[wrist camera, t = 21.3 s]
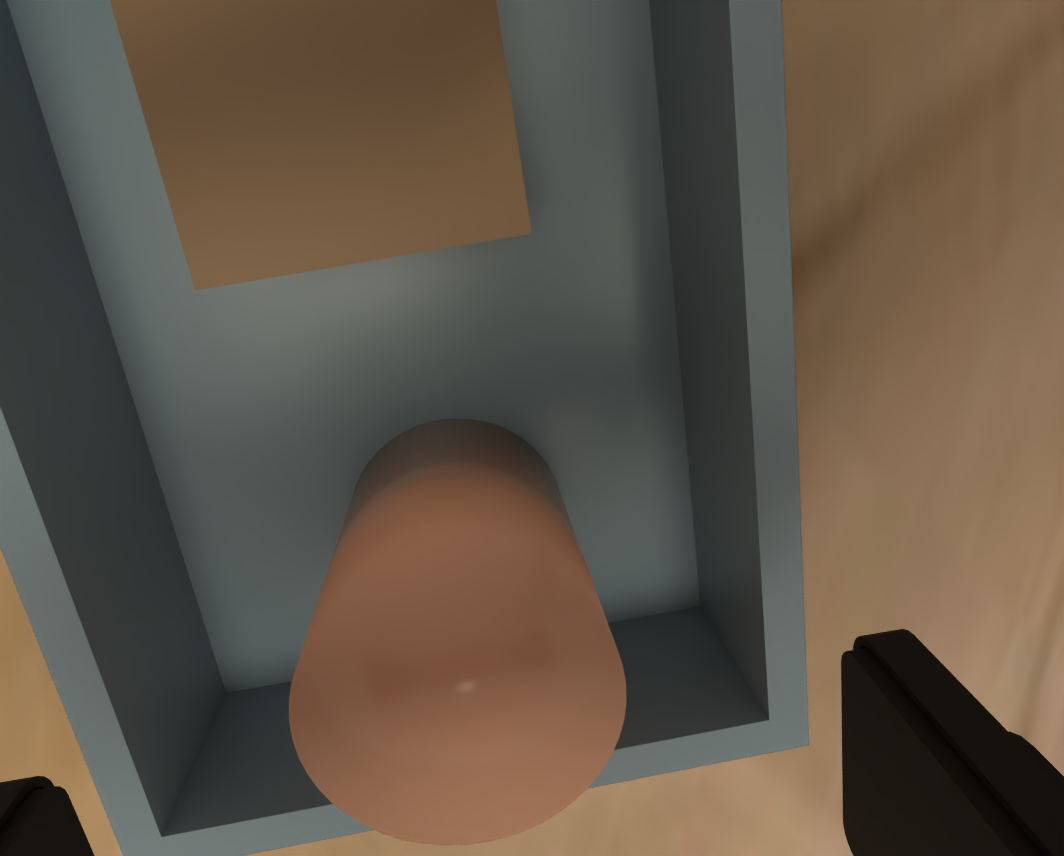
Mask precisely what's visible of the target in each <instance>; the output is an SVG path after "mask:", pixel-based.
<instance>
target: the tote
mask: <svg viewBox="0 0 1064 856" xmlns="http://www.w3.org/2000/svg"><path fill="white" fill-rule="evenodd" d="M496 4H497V10H498V17H499V23H500V30H501V36H502V43H503V49H504V56H505V62H506V69H507V75H508V82H509V88H510V95H511V101H512V108H513V114H514V121H515V127H516V134H517V140H518V147H519V153H520V160H521V166H522V173H523V179H524V186H525V192H526V199H527V205H528V212H529V218H530V225H531V231H532V234H526V235H520V236H514V237H508V238H503V239H497V240H491V241H485V242H479V243H473V244H467V245H461V246H456V247H450V248H444V249H438V250H432V251H426V252H420V253H414V254H409V255H403V256H397V257H391V258H385V259H379V260H373V261H367V262H362V263H356V264H350V265H344V266H338V267H332V268H326V269H320V270H315V271H309V272H303V273H297V274H291V275H285V276H279V277H273V278H268V279H262V280H256V281H250V282H244V283H238V284H232V285H226V286H221V287H215V288H209V289H203V290H197V291H195V289H194V285H193V282H192V278H191V275H190V272H189V268H188V265H187V261H186V258H185V255H184V251H183V248H182V244H181V241H180V238H179V234H178V231H177V227H176V224H175V221H174V217H173V214H172V210H171V207H170V204H169V200H168V197H167V193H166V190H165V187H164V183H163V180H162V176H161V173H160V170H159V166H158V163H157V159H156V156H155V153H154V149H153V146H152V142H151V139H150V136H149V132H148V129H147V125H146V122H145V119H144V115H143V112H142V108H141V105H140V102H139V98H138V95H137V91H136V88H135V85H134V81H133V78H132V74H131V71H130V68H129V64H128V61H127V57H126V54H125V51H124V47H123V44H122V40H121V37H120V34H119V30H118V27H117V23H116V20H115V17H114V13H113V10H112V6H111V3H110V0H0V548H1V550H2V553H3V555H4V558H5V560H6V563H7V565H8V568H9V570H10V573H11V576H12V578H13V581H14V583H15V586H16V588H17V591H18V593H19V596H20V598H21V601H22V603H23V606H24V608H25V611H26V613H27V616H28V618H29V621H30V623H31V626H32V628H33V631H34V633H35V636H36V638H37V641H38V643H39V646H40V648H41V651H42V653H43V656H44V658H45V661H46V663H47V666H48V668H49V671H50V674H51V676H52V679H53V681H54V684H55V686H56V689H57V691H58V694H59V696H60V699H61V701H62V704H63V706H64V709H65V711H66V714H67V716H68V719H69V721H70V724H71V726H72V729H73V731H74V734H75V736H76V739H77V741H78V744H79V746H80V749H81V751H82V754H83V756H84V759H85V761H86V764H87V766H88V769H89V772H90V774H91V777H92V779H93V782H94V784H95V787H96V789H97V792H98V794H99V797H100V799H101V802H102V804H103V807H104V809H105V812H106V814H107V817H108V819H109V822H110V824H111V827H112V829H113V832H114V834H115V837H116V839H117V842H118V844H119V847H120V849H121V852H122V854H123V856H244V855H249V854H254V853H259V852H264V851H269V850H274V849H279V848H285V847H290V846H295V845H300V844H305V843H310V842H315V841H321V840H326V839H331V838H336V837H341V836H346V835H351V834H356V833H362V832H367V831H372V830H374V829H371V828H369V827H367V826H365V825H363V824H361V823H359V822H358V821H356V820H354V819H353V818H351V817H349V816H348V815H346V814H345V813H344V812H343V811H341V810H340V809H339V808H337V807H336V806H335V805H334V804H332V803H331V802H330V801H329V800H328V799H327V798H326V797H325V796H324V794H323V793H322V792H321V791H320V790H319V789H318V788H317V787H316V785H315V784H314V782H313V781H312V780H311V778H310V777H309V776H308V774H307V772H306V771H305V769H304V767H303V765H302V763H301V761H300V759H299V757H298V754H297V751H296V749H295V746H294V743H293V740H292V735H291V729H290V723H289V697H290V690H291V683H292V679H293V676H294V673H295V669H296V666H297V663H298V660H299V657H300V654H301V651H302V648H303V645H304V642H305V639H306V636H307V633H308V630H309V626H310V623H311V620H312V617H313V614H314V611H315V608H316V605H317V602H318V599H319V596H320V593H321V590H322V587H323V584H324V581H325V578H326V575H327V572H328V569H329V566H330V563H331V560H332V556H333V553H334V550H335V547H336V544H337V541H338V538H339V535H340V532H341V529H342V526H343V523H344V520H345V517H346V514H347V511H348V508H349V505H350V502H351V499H352V496H353V493H354V490H355V487H356V484H357V482H358V480H359V477H360V475H361V473H362V471H363V470H364V468H365V467H366V465H367V464H368V462H369V461H370V460H371V458H372V457H373V456H374V455H375V454H376V453H377V452H378V450H380V449H381V448H382V447H383V446H384V445H385V444H386V443H388V442H389V441H390V440H392V439H393V438H395V437H396V436H398V435H399V434H401V433H403V432H405V431H407V430H409V429H411V428H413V427H415V426H418V425H421V424H424V423H427V422H432V421H437V420H441V419H454V418H460V419H473V420H479V421H485V422H488V423H491V424H495V425H498V426H500V427H502V428H505V429H507V430H509V431H511V432H513V433H514V434H516V435H518V436H519V437H521V438H522V439H524V440H525V441H526V442H527V443H528V444H530V445H531V446H532V447H533V448H534V449H535V450H536V451H537V452H538V453H539V454H540V455H541V456H542V458H543V459H544V460H545V462H546V463H547V465H548V466H549V468H550V470H551V472H552V473H553V475H554V477H555V479H556V482H557V485H558V488H559V490H560V493H561V496H562V499H563V501H564V504H565V507H566V510H567V512H568V515H569V518H570V521H571V523H572V526H573V529H574V532H575V534H576V537H577V540H578V543H579V545H580V548H581V551H582V553H583V556H584V559H585V562H586V564H587V567H588V570H589V573H590V575H591V578H592V581H593V584H594V586H595V589H596V592H597V595H598V597H599V600H600V603H601V606H602V608H603V611H604V614H605V617H606V619H607V622H608V625H609V628H610V630H611V633H612V636H613V639H614V641H615V644H616V647H617V650H618V653H619V656H620V659H621V661H622V664H623V669H624V675H625V680H626V710H625V717H624V723H623V726H622V730H621V733H620V737H619V739H618V742H617V744H616V746H615V748H614V751H613V753H612V755H611V757H610V758H609V760H608V762H607V763H606V765H605V767H604V768H603V770H602V771H601V773H600V774H599V775H598V776H597V778H596V779H595V780H594V781H593V783H592V784H591V785H590V786H589V787H588V788H593V787H598V786H603V785H608V784H613V783H618V782H623V781H628V780H634V779H639V778H644V777H649V776H654V775H659V774H664V773H670V772H675V771H680V770H685V769H690V768H695V767H700V766H705V765H711V764H716V763H721V762H726V761H731V760H736V759H741V758H747V757H752V756H757V755H762V754H767V753H772V752H777V751H782V750H788V749H793V748H798V747H803V746H808V745H809V724H808V697H807V670H806V643H805V616H804V590H803V563H802V536H801V509H800V482H799V455H798V428H797V401H796V374H795V347H794V321H793V294H792V267H791V240H790V213H789V186H788V159H787V132H786V105H785V78H784V52H783V25H782V0H496Z"/></svg>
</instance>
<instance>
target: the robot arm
mask: <svg viewBox="0 0 1064 856" xmlns="http://www.w3.org/2000/svg"><path fill="white" fill-rule="evenodd" d="M841 685H842V771H843V824H844V830H845V835H846V838H847V841H848V844H849V847H850V849H851V852H852V854H853V856H1064V776H1063V775H1062V774H1061V773H1060V772H1059V771H1058V770H1057V769H1056V768H1055V767H1054V766H1053V765H1052V764H1051V763H1050V762H1049V761H1048V760H1047V759H1046V758H1045V757H1044V756H1043V755H1042V754H1041V753H1040V752H1039V751H1038V750H1037V749H1036V748H1035V747H1034V746H1033V745H1031V744H1030V743H1029V742H1028V741H1026V740H1025V739H1024V738H1023V737H1022V736H1020V735H1017V734H1014V733H1012V732H1008V731H1007V730H1006V729H1005V728H1004V727H1003V726H1002V725H1001V724H1000V723H999V722H998V721H997V720H996V719H995V718H994V717H993V716H992V715H991V714H990V713H989V712H988V711H987V710H986V709H985V707H984V706H983V705H982V704H981V703H980V702H979V701H978V700H977V699H976V698H975V697H974V696H973V695H972V694H971V693H970V692H969V691H968V690H967V689H966V688H965V687H964V686H963V685H962V684H961V683H960V682H959V681H958V680H957V679H956V678H955V677H954V676H953V675H952V674H951V673H950V671H949V670H948V669H947V668H946V667H945V666H944V665H943V664H942V663H941V662H940V661H939V660H938V659H937V658H936V657H935V656H934V655H933V654H932V653H931V652H930V651H929V650H928V649H927V648H926V647H925V646H924V645H923V644H922V643H921V642H920V641H919V640H918V639H917V638H916V637H915V635H913V634H912V633H911V632H910V631H908V630H905V629H899V630H894V631H888V632H882V633H876V634H870V635H864V636H859V637H858V638H856V640H855V642H854V646H853V650H851V651H846V652H844V653H843V655H842V660H841ZM0 856H94V854H93V851H92V849H91V847H90V844H89V842H88V840H87V837H86V835H85V833H84V830H83V828H82V826H81V823H80V821H79V819H78V816H77V814H76V812H75V809H74V807H73V805H72V802H71V800H70V798H69V796H68V794H67V792H66V791H65V789H63V788H62V787H58V786H54V785H53V783H52V782H51V780H49V779H48V778H46V777H44V776H36V777H30V778H24V779H18V780H12V781H6V782H1V783H0Z"/></svg>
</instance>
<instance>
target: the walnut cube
mask: <svg viewBox="0 0 1064 856" xmlns="http://www.w3.org/2000/svg"><path fill="white" fill-rule="evenodd" d="M110 3H111V6H112V10H113V13H114V17H115V20H116V23H117V27H118V30H119V34H120V37H121V40H122V44H123V47H124V51H125V54H126V57H127V61H128V64H129V68H130V71H131V74H132V78H133V81H134V85H135V88H136V91H137V95H138V98H139V102H140V105H141V108H142V112H143V115H144V119H145V122H146V125H147V129H148V132H149V136H150V139H151V142H152V146H153V149H154V153H155V156H156V159H157V163H158V166H159V170H160V173H161V176H162V180H163V183H164V187H165V190H166V193H167V197H168V200H169V204H170V207H171V210H172V214H173V217H174V221H175V224H176V227H177V231H178V234H179V238H180V241H181V244H182V248H183V251H184V255H185V258H186V261H187V265H188V268H189V272H190V275H191V278H192V282H193V285H194V289H195V291H197V290H203V289H209V288H215V287H221V286H226V285H232V284H238V283H244V282H250V281H256V280H262V279H268V278H273V277H279V276H285V275H291V274H297V273H303V272H309V271H315V270H320V269H326V268H332V267H338V266H344V265H350V264H356V263H362V262H367V261H373V260H379V259H385V258H391V257H397V256H403V255H409V254H414V253H420V252H426V251H432V250H438V249H444V248H450V247H456V246H461V245H467V244H473V243H479V242H485V241H491V240H497V239H503V238H508V237H514V236H520V235H526V234H532V231H531V225H530V218H529V212H528V205H527V199H526V192H525V186H524V179H523V173H522V166H521V160H520V153H519V147H518V140H517V134H516V127H515V121H514V114H513V108H512V101H511V95H510V88H509V82H508V75H507V69H506V62H505V56H504V49H503V43H502V36H501V30H500V23H499V17H498V10H497V4H496V0H110Z"/></svg>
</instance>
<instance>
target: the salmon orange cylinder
mask: <svg viewBox="0 0 1064 856" xmlns="http://www.w3.org/2000/svg"><path fill="white" fill-rule="evenodd" d="M625 710H626V680H625V675H624V669H623V664H622V661H621V659H620V656H619V653H618V650H617V647H616V644H615V641H614V639H613V636H612V633H611V630H610V628H609V625H608V622H607V619H606V617H605V614H604V611H603V608H602V606H601V603H600V600H599V597H598V595H597V592H596V589H595V586H594V584H593V581H592V578H591V575H590V573H589V570H588V567H587V564H586V562H585V559H584V556H583V553H582V551H581V548H580V545H579V543H578V540H577V537H576V534H575V532H574V529H573V526H572V523H571V521H570V518H569V515H568V512H567V510H566V507H565V504H564V501H563V499H562V496H561V493H560V490H559V488H558V485H557V482H556V479H555V477H554V475H553V473H552V472H551V470H550V468H549V466H548V465H547V463H546V462H545V460H544V459H543V458H542V456H541V455H540V454H539V453H538V452H537V451H536V450H535V449H534V448H533V447H532V446H531V445H530V444H528V443H527V442H526V441H525V440H524V439H522V438H521V437H519V436H518V435H516V434H514V433H513V432H511V431H509V430H507V429H505V428H502V427H500V426H498V425H495V424H491V423H488V422H485V421H479V420H473V419H460V418H454V419H441V420H437V421H432V422H427V423H424V424H421V425H418V426H415V427H413V428H411V429H409V430H407V431H405V432H403V433H401V434H399V435H398V436H396V437H395V438H393V439H392V440H390V441H389V442H388V443H386V444H385V445H384V446H383V447H382V448H381V449H380V450H378V452H377V453H376V454H375V455H374V456H373V457H372V458H371V460H370V461H369V462H368V464H367V465H366V467H365V468H364V470H363V471H362V473H361V475H360V477H359V480H358V482H357V484H356V487H355V490H354V493H353V496H352V499H351V502H350V505H349V508H348V511H347V514H346V517H345V520H344V523H343V526H342V529H341V532H340V535H339V538H338V541H337V544H336V547H335V550H334V553H333V556H332V560H331V563H330V566H329V569H328V572H327V575H326V578H325V581H324V584H323V587H322V590H321V593H320V596H319V599H318V602H317V605H316V608H315V611H314V614H313V617H312V620H311V623H310V626H309V630H308V633H307V636H306V639H305V642H304V645H303V648H302V651H301V654H300V657H299V660H298V663H297V666H296V669H295V673H294V676H293V679H292V683H291V690H290V697H289V723H290V729H291V735H292V740H293V743H294V746H295V749H296V751H297V754H298V757H299V759H300V761H301V763H302V765H303V767H304V769H305V771H306V772H307V774H308V776H309V777H310V778H311V780H312V781H313V782H314V784H315V785H316V787H317V788H318V789H319V790H320V791H321V792H322V793H323V794H324V796H325V797H326V798H327V799H328V800H329V801H330V802H331V803H332V804H334V805H335V806H336V807H337V808H339V809H340V810H341V811H343V812H344V813H345V814H346V815H348V816H349V817H351V818H353V819H354V820H356V821H358V822H359V823H361V824H363V825H365V826H367V827H369V828H371V829H374V830H376V831H378V832H380V833H383V834H386V835H389V836H392V837H395V838H398V839H402V840H406V841H412V842H417V843H422V844H433V845H467V844H475V843H483V842H488V841H492V840H497V839H501V838H505V837H508V836H511V835H514V834H517V833H520V832H523V831H525V830H527V829H530V828H532V827H534V826H536V825H538V824H540V823H542V822H544V821H546V820H547V819H549V818H551V817H552V816H554V815H556V814H557V813H559V812H560V811H562V810H563V809H564V808H566V807H567V806H568V805H570V804H571V803H572V802H573V801H575V800H576V799H577V798H578V797H579V796H580V795H581V794H582V793H583V792H584V791H585V790H586V789H587V788H588V787H589V786H590V785H591V784H592V783H593V781H594V780H595V779H596V778H597V776H598V775H599V774H600V773H601V771H602V770H603V768H604V767H605V765H606V763H607V762H608V760H609V758H610V757H611V755H612V753H613V751H614V748H615V746H616V744H617V742H618V739H619V737H620V733H621V730H622V726H623V723H624V717H625Z"/></svg>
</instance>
